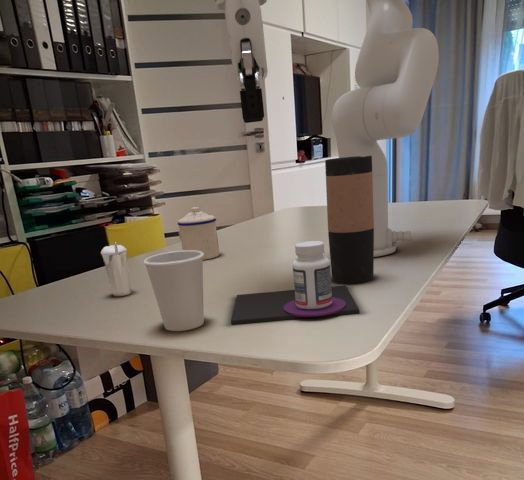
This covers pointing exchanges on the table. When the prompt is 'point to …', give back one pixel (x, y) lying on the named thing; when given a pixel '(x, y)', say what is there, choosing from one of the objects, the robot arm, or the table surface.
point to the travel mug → (350, 218)
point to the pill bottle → (312, 276)
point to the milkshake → (117, 269)
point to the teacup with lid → (199, 233)
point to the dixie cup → (178, 288)
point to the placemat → (288, 306)
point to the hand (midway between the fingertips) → (253, 120)
